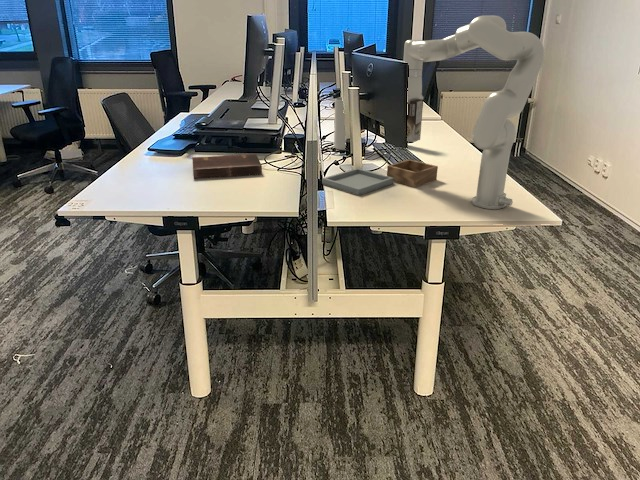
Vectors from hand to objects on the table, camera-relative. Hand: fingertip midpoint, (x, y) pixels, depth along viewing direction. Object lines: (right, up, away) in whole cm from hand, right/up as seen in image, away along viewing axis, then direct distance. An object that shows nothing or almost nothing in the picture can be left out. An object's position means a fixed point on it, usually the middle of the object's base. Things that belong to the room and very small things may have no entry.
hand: (408, 119), depth 211 cm
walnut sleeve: (+3, -23, +11) cm, 26 cm away
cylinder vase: (-22, -1, +62) cm, 66 cm away
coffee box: (0, -8, +4) cm, 9 cm away
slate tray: (-20, -26, +5) cm, 33 cm away
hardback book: (-77, -19, +22) cm, 83 cm away
